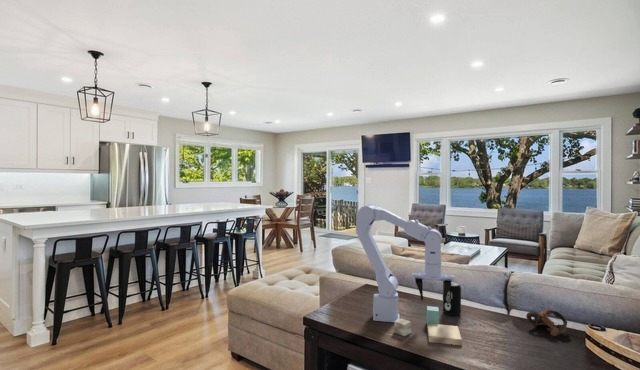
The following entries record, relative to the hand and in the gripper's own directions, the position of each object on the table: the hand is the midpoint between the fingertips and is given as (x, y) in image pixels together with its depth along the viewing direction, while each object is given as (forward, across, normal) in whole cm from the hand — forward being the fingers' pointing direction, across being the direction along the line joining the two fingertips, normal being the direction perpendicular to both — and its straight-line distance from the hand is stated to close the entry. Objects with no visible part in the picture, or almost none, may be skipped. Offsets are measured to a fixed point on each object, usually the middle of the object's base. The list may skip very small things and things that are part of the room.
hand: (432, 299), depth 125 cm
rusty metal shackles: (+10, +38, +5) cm, 40 cm away
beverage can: (+9, +8, +13) cm, 18 cm away
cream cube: (+9, -10, -9) cm, 17 cm away
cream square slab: (+9, +3, -9) cm, 13 cm away
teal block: (+9, 0, 0) cm, 9 cm away
